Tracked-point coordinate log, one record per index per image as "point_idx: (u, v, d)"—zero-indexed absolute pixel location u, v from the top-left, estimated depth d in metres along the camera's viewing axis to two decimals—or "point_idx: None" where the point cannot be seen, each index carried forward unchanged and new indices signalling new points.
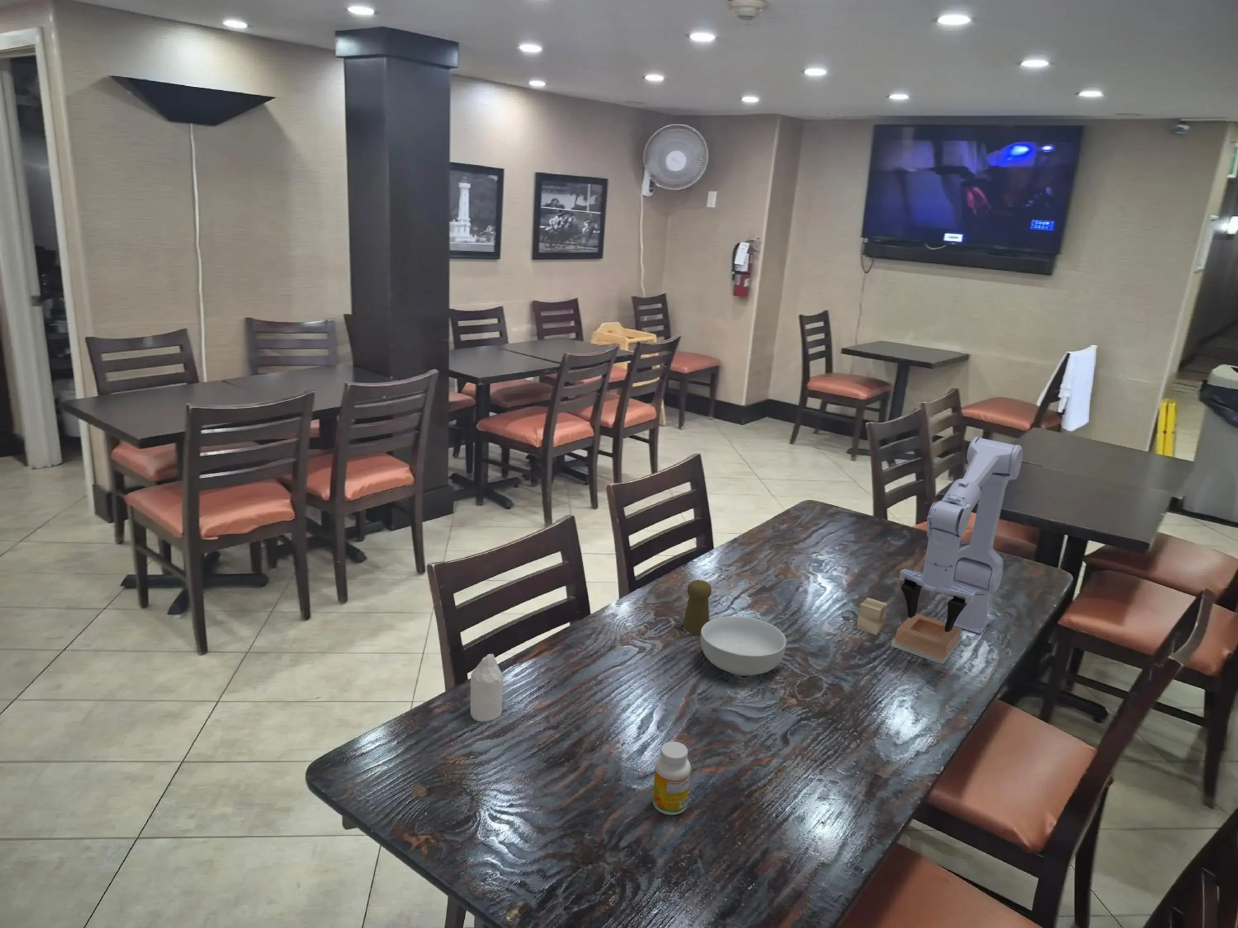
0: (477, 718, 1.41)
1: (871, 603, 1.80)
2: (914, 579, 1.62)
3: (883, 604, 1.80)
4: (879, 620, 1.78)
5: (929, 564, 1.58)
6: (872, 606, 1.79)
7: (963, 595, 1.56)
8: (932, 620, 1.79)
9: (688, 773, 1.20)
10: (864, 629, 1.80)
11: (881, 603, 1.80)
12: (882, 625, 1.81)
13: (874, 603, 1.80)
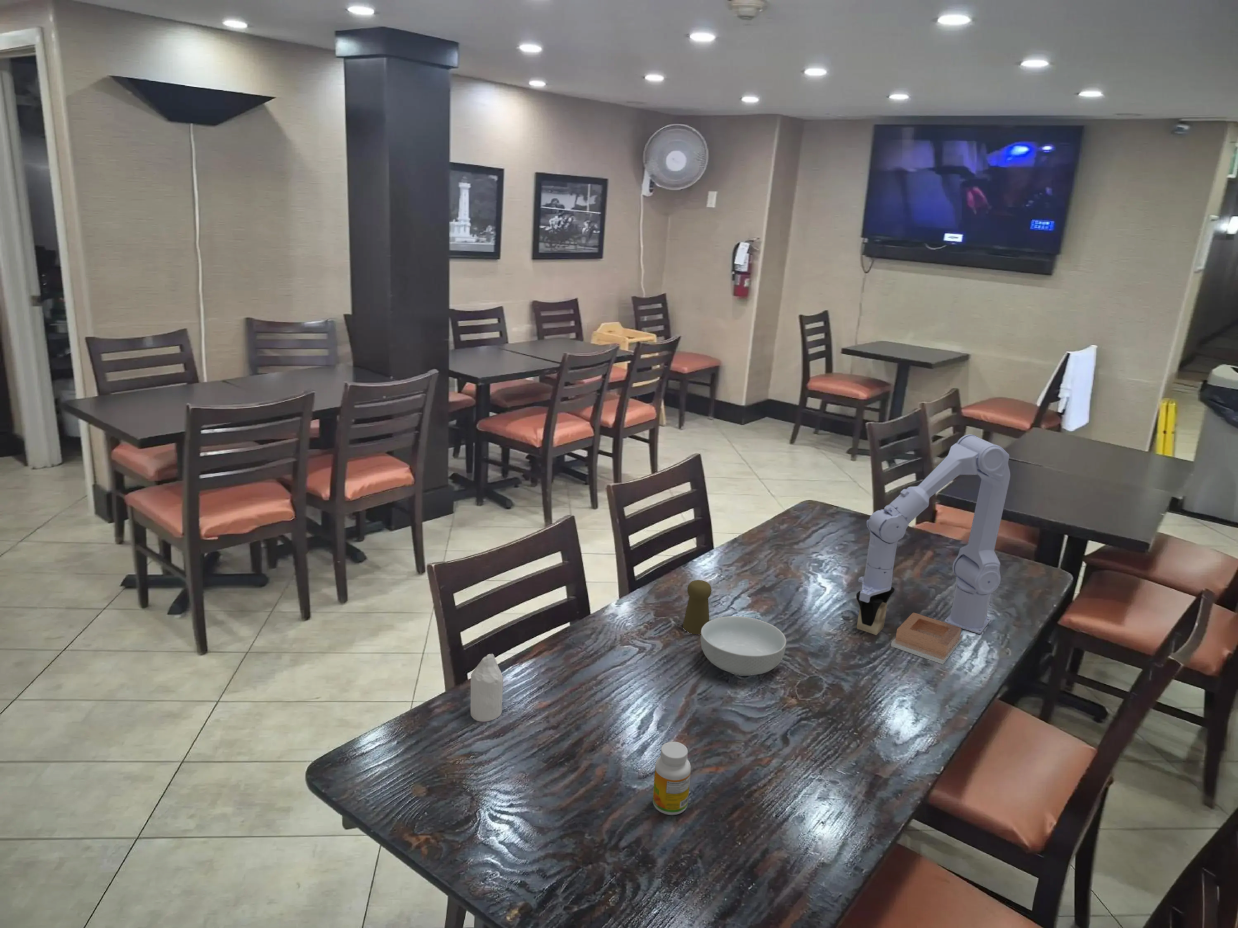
0: (477, 718, 1.41)
1: None
2: None
3: (883, 604, 1.80)
4: (879, 620, 1.78)
5: None
6: None
7: None
8: (932, 620, 1.79)
9: (688, 773, 1.20)
10: (864, 629, 1.80)
11: None
12: (882, 625, 1.81)
13: None
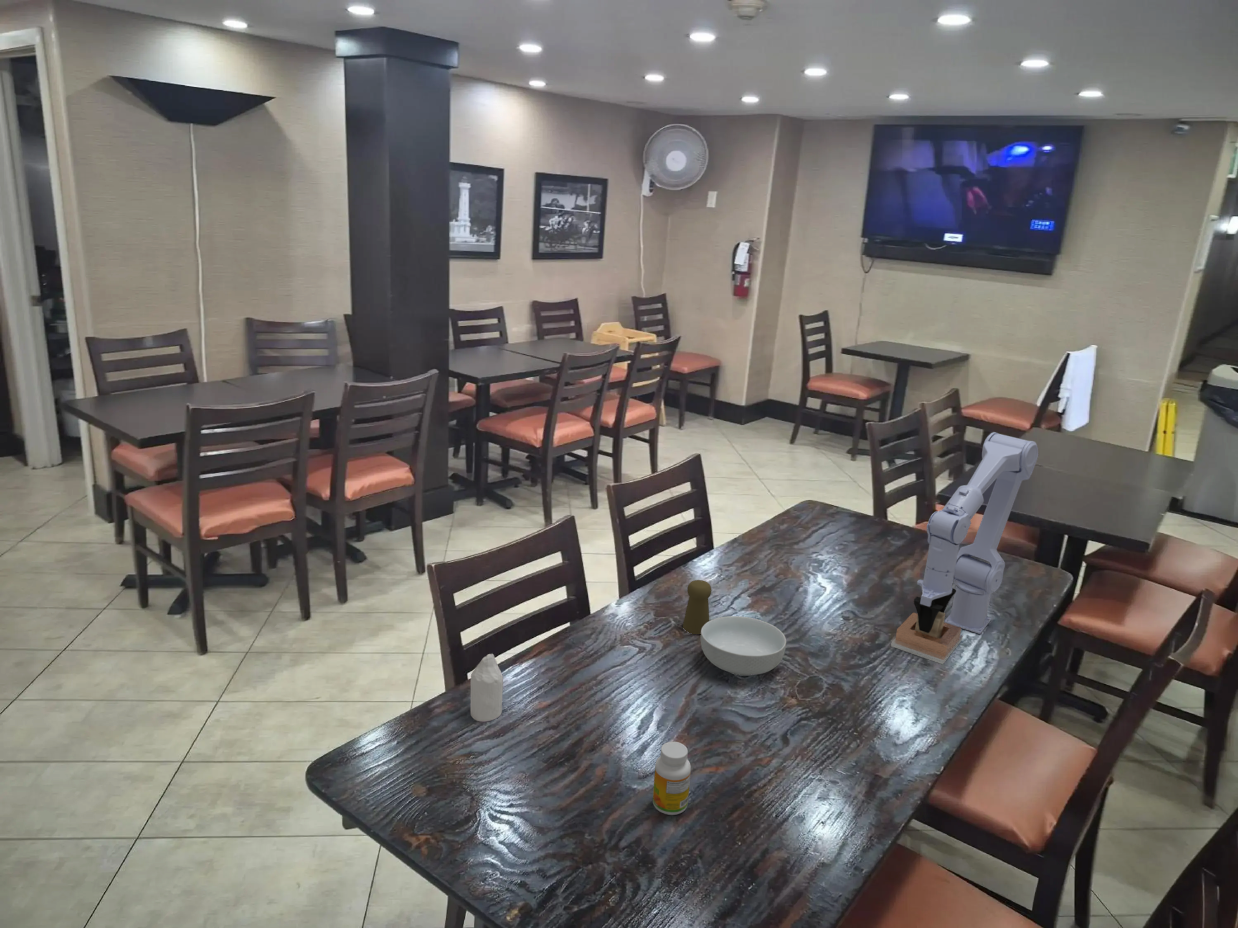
0: (477, 718, 1.41)
1: None
2: None
3: (941, 614, 1.74)
4: (938, 630, 1.73)
5: None
6: None
7: (922, 595, 1.69)
8: None
9: (688, 773, 1.20)
10: None
11: (939, 613, 1.74)
12: (940, 635, 1.75)
13: None
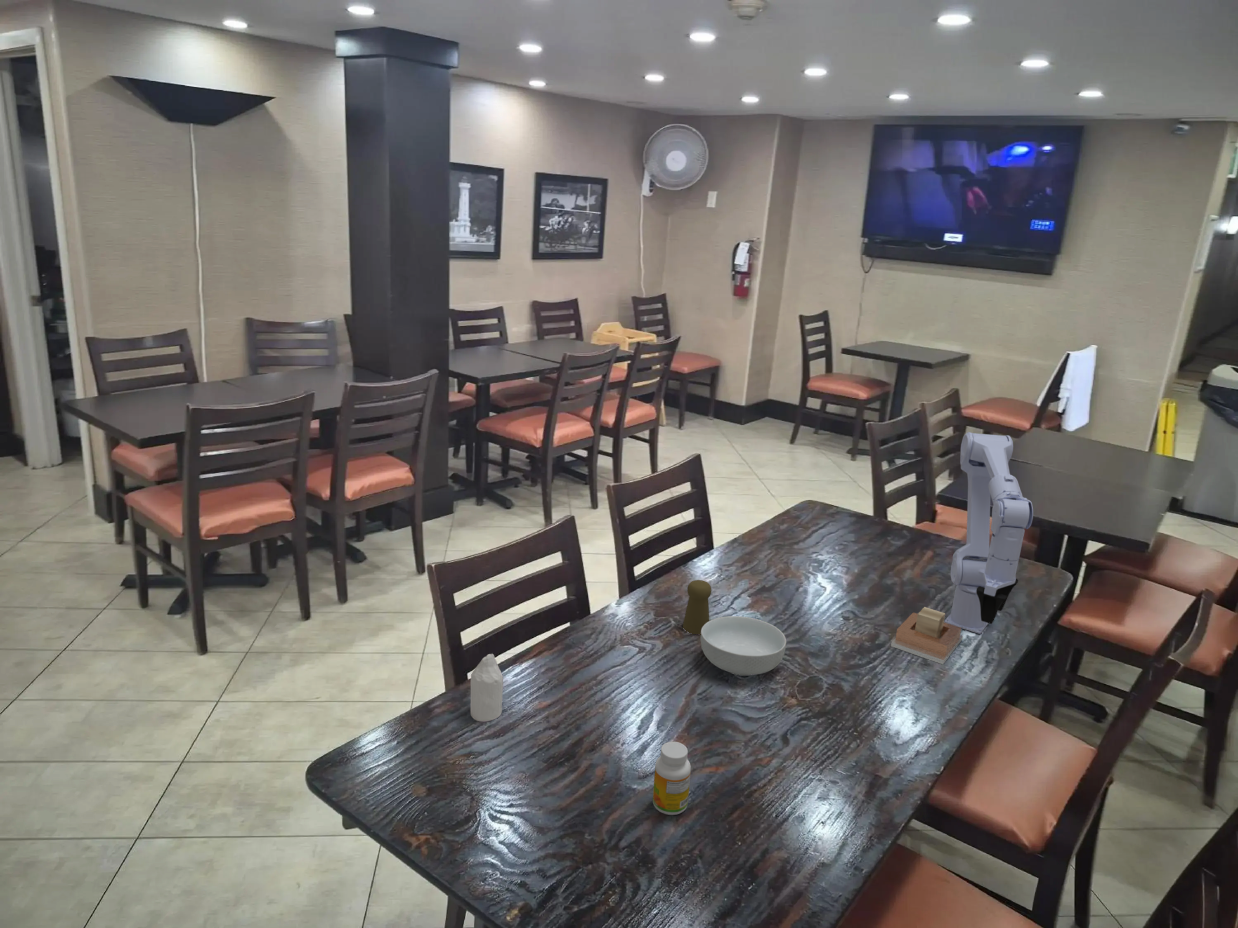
0: (477, 718, 1.41)
1: (929, 613, 1.74)
2: None
3: (941, 614, 1.74)
4: (938, 630, 1.73)
5: None
6: (930, 616, 1.73)
7: (986, 584, 1.63)
8: None
9: (688, 773, 1.20)
10: None
11: (939, 613, 1.74)
12: (940, 635, 1.75)
13: (932, 613, 1.74)
